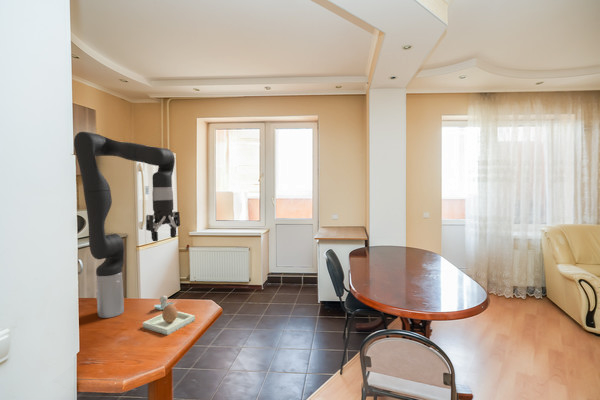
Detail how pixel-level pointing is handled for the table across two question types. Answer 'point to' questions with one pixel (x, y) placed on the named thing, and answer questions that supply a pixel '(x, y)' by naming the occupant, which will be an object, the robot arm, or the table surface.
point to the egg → (169, 313)
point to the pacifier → (162, 303)
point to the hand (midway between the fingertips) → (164, 239)
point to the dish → (168, 328)
